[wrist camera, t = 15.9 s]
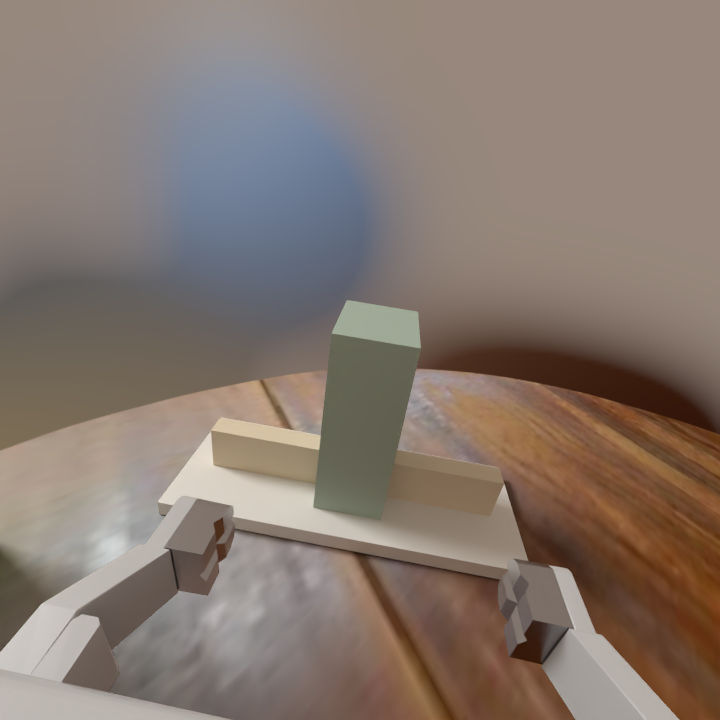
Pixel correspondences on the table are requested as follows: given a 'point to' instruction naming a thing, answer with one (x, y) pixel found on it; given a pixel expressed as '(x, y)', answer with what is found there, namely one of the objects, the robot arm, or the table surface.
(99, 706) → the robot arm
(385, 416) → the tall rectangular block
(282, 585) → the table surface
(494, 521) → the rail board
